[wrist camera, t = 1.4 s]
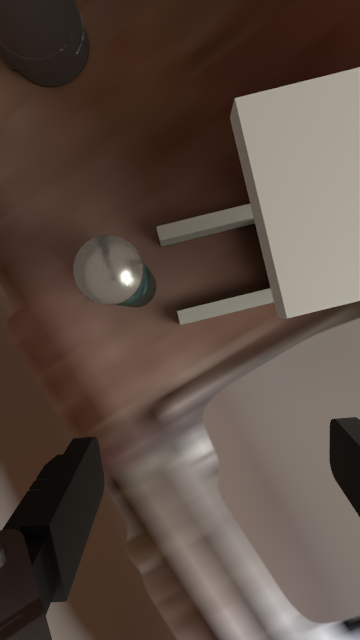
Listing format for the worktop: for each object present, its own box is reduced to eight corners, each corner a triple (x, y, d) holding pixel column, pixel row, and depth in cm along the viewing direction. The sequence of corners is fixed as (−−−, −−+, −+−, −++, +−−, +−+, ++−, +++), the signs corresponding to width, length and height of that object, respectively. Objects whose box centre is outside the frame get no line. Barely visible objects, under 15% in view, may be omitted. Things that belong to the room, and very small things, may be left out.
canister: (111, 305, 37) (69, 300, 23) (116, 262, 37) (76, 231, 23) (154, 310, 37) (138, 308, 23) (159, 267, 37) (146, 238, 23)
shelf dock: (181, 327, 37) (182, 343, 16) (157, 230, 37) (128, 124, 16) (311, 295, 37) (476, 272, 16) (288, 198, 37) (426, 50, 16)
